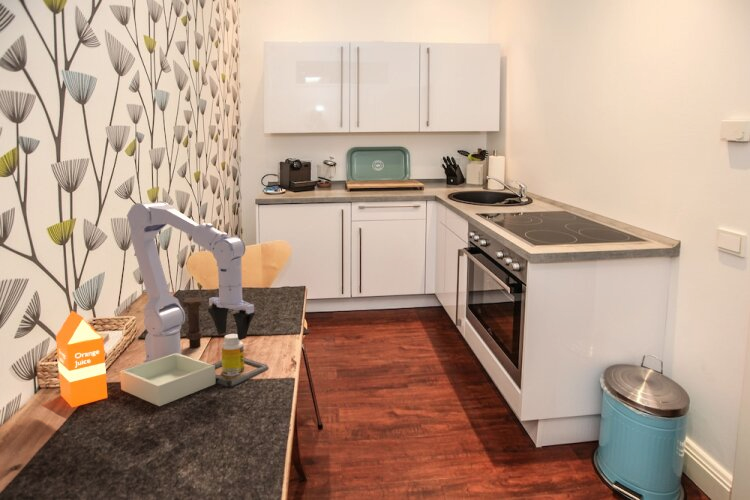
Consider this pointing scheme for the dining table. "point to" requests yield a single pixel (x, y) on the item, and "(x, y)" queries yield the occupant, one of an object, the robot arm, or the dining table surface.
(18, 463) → the dining table surface
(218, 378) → the socket collar
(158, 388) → the bin
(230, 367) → the supplement bottle
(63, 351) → the orange juice
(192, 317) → the bolt
